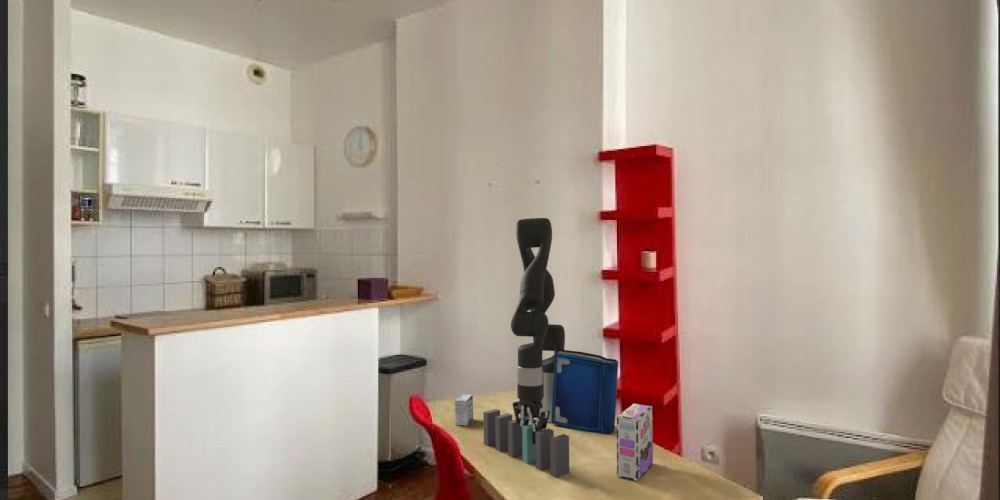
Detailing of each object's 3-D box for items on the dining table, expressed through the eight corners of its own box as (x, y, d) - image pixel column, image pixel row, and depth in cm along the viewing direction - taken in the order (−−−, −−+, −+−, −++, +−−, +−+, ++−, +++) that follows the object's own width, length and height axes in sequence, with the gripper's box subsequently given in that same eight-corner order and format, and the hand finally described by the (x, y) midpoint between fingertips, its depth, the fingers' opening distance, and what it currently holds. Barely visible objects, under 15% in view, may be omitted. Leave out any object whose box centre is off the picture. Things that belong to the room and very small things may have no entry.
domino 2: (508, 445, 172) (508, 413, 172) (512, 447, 171) (512, 414, 170) (495, 449, 169) (495, 416, 169) (499, 451, 168) (499, 418, 167)
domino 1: (496, 440, 177) (496, 408, 177) (500, 442, 175) (500, 410, 175) (483, 444, 174) (483, 411, 174) (487, 445, 172) (487, 413, 172)
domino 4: (535, 457, 163) (535, 422, 163) (540, 459, 161) (540, 424, 161) (522, 461, 160) (522, 426, 160) (527, 463, 158) (526, 428, 158)
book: (618, 431, 186) (620, 356, 185) (612, 438, 180) (614, 360, 179) (558, 419, 197) (560, 348, 196) (550, 425, 190) (551, 352, 189)
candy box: (637, 482, 146) (637, 419, 145) (616, 477, 149) (615, 415, 148) (653, 463, 157) (653, 405, 157) (633, 459, 160) (632, 402, 160)
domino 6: (564, 470, 153) (563, 434, 153) (569, 472, 152) (569, 435, 152) (550, 475, 150) (550, 438, 150) (555, 477, 149) (555, 440, 149)
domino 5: (549, 463, 158) (548, 428, 158) (553, 465, 156) (553, 430, 156) (535, 468, 155) (535, 432, 155) (540, 470, 153) (540, 434, 153)
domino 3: (521, 451, 167) (521, 418, 167) (525, 453, 166) (525, 419, 166) (508, 455, 164) (507, 421, 164) (512, 457, 163) (512, 423, 163)
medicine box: (467, 426, 191) (467, 400, 191) (455, 425, 192) (454, 400, 192) (473, 418, 199) (473, 394, 198) (461, 418, 199) (460, 394, 199)
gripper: (557, 384, 157) (557, 445, 157) (523, 375, 168) (524, 432, 168) (537, 388, 152) (538, 451, 152) (504, 379, 163) (505, 437, 164)
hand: (530, 441), depth 160 cm, fingers open, 4 cm apart
